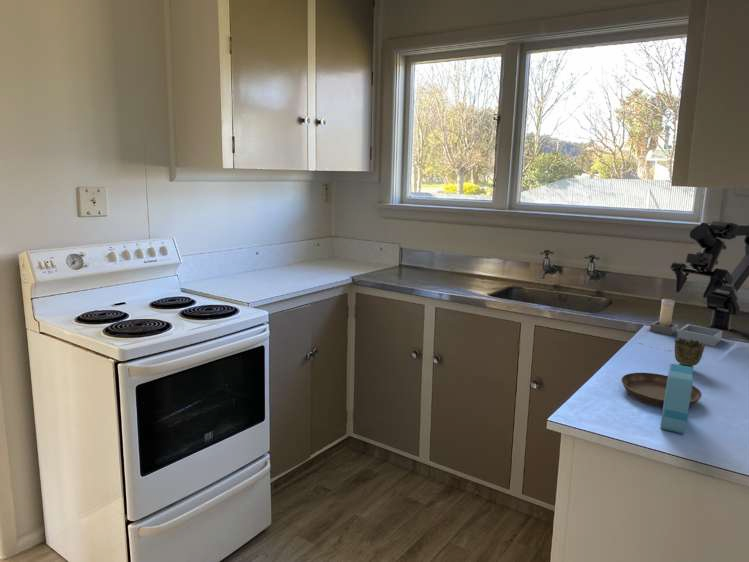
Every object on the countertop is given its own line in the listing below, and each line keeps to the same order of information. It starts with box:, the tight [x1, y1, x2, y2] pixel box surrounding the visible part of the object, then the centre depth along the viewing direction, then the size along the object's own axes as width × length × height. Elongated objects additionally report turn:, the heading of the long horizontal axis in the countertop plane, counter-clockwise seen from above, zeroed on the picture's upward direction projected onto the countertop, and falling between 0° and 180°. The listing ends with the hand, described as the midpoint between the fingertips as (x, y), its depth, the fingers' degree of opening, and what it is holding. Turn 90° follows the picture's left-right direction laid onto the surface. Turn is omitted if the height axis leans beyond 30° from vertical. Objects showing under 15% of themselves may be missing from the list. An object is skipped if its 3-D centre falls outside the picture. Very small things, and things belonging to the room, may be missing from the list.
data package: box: [660, 363, 694, 435], centre depth 123 cm, size 12×4×12 cm, turn 151°
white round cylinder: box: [658, 298, 676, 327], centre depth 192 cm, size 4×4×11 cm
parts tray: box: [677, 323, 724, 347], centre depth 186 cm, size 10×10×4 cm
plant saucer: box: [620, 372, 703, 408], centre depth 139 cm, size 18×18×3 cm
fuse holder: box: [645, 320, 679, 338], centre depth 193 cm, size 9×9×4 cm
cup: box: [674, 338, 706, 369], centre depth 159 cm, size 8×7×8 cm
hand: (690, 294), depth 191 cm, fingers open, 9 cm apart
